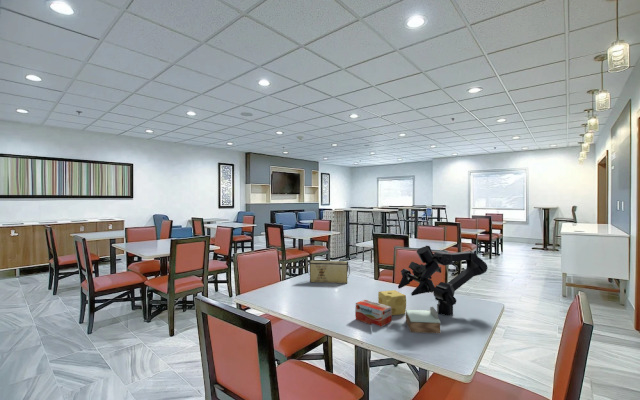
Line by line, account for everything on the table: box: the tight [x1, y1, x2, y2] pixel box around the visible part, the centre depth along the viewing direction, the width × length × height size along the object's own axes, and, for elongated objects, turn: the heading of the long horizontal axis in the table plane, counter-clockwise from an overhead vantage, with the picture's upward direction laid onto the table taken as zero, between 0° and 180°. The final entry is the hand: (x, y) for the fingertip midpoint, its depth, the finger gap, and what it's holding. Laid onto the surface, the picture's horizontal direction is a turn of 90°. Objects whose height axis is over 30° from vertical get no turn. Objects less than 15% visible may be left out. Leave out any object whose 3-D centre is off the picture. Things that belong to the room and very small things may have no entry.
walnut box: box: [405, 312, 441, 334], centre depth 133 cm, size 12×12×5 cm
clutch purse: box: [306, 260, 351, 284], centre depth 211 cm, size 30×7×15 cm, turn 83°
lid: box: [405, 306, 441, 324], centre depth 133 cm, size 12×12×3 cm
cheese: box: [377, 289, 407, 316], centre depth 152 cm, size 10×11×10 cm
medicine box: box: [354, 299, 393, 327], centre depth 142 cm, size 15×8×8 cm, turn 46°
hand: (404, 291), depth 141 cm, fingers open, 9 cm apart
